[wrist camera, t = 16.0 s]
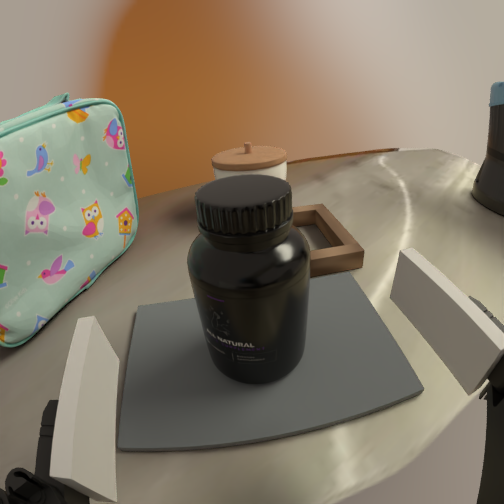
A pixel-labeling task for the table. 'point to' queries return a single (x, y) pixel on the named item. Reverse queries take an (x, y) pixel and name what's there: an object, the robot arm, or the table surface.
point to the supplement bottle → (250, 277)
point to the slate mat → (259, 395)
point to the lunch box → (60, 208)
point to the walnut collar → (343, 244)
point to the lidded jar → (250, 161)
